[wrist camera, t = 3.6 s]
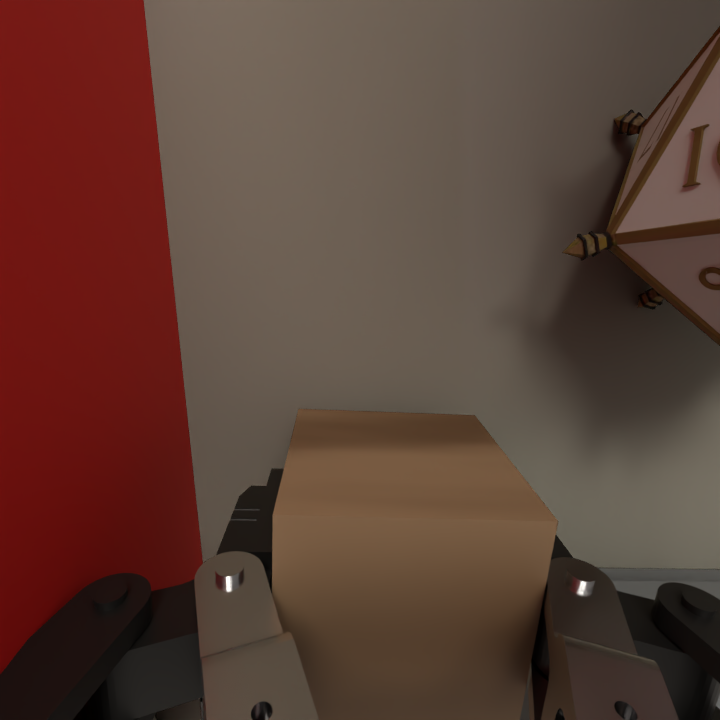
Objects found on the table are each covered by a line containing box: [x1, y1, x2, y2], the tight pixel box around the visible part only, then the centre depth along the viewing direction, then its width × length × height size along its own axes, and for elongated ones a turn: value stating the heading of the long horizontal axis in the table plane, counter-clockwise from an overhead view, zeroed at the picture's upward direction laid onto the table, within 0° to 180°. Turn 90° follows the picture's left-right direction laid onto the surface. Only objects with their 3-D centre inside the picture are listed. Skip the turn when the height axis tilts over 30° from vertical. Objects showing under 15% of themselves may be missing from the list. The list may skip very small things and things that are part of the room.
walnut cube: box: [272, 409, 558, 720], centre depth 11 cm, size 5×5×5 cm
